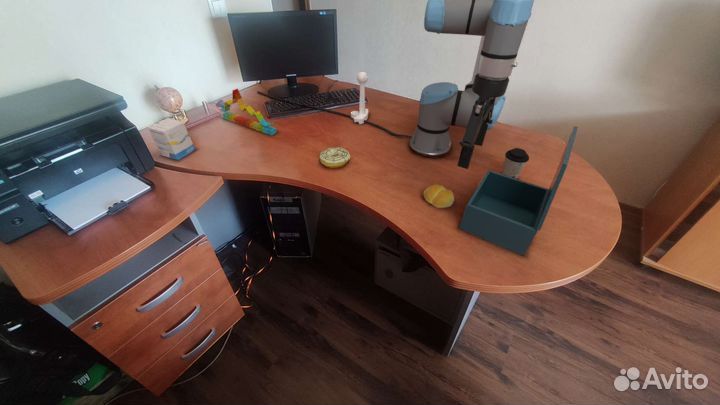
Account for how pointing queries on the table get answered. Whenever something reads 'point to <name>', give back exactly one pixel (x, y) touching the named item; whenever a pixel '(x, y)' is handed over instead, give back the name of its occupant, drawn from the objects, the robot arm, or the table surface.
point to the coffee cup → (514, 162)
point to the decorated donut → (334, 157)
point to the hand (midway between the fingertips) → (470, 155)
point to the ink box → (172, 138)
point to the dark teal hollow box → (505, 211)
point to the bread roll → (439, 196)
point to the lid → (557, 177)
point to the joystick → (361, 100)
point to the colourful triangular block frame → (261, 126)
